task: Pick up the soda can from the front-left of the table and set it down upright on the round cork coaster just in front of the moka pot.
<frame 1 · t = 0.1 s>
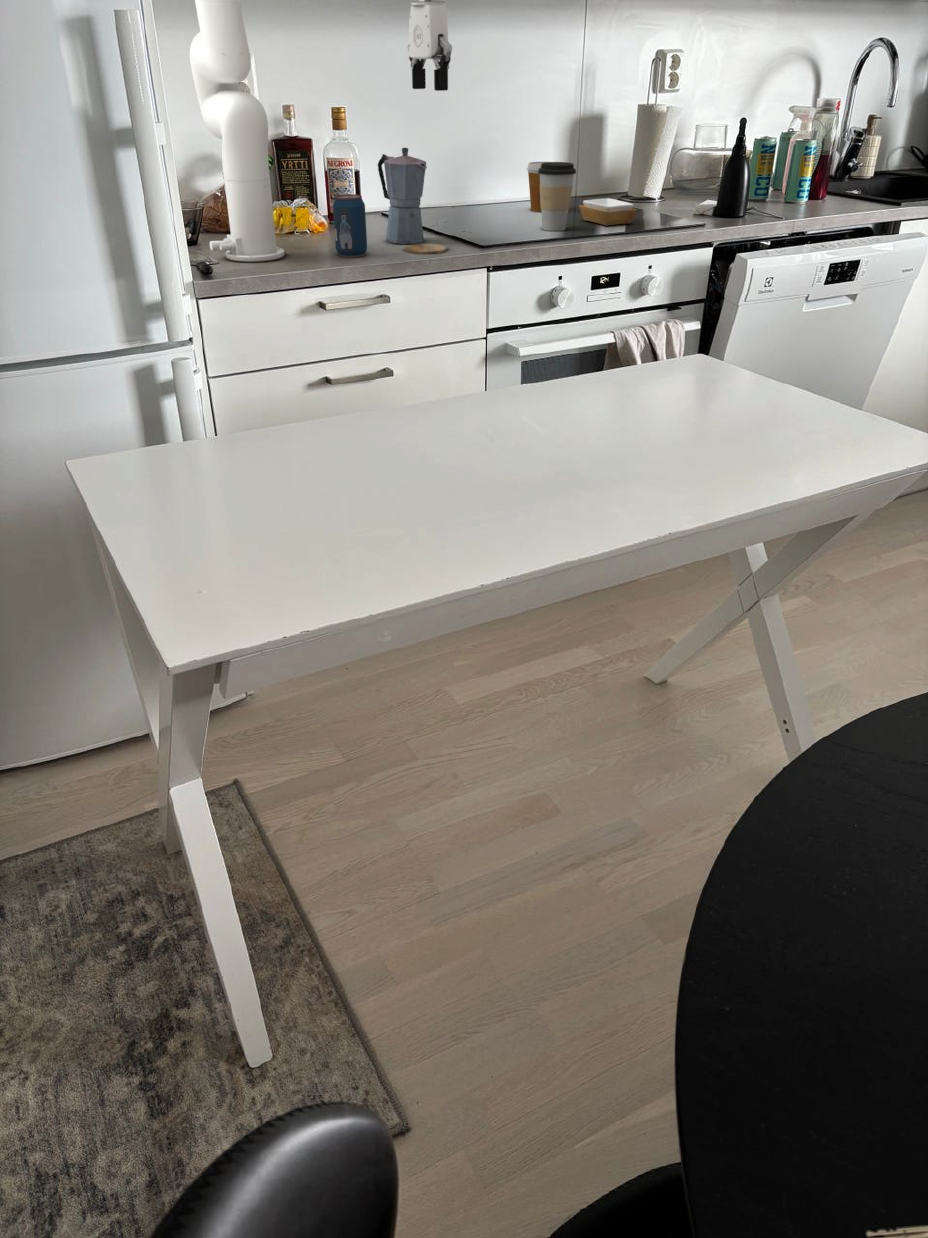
hand: (429, 89, 208), 31 cm above the table, tool pointing down, fingers open, 9 cm apart
moka pot: (403, 241, 221), on the table
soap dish: (606, 223, 244), on the table
coffee cup: (554, 229, 236), on the table
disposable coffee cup: (542, 210, 262), on the table
soda can: (351, 255, 206), on the table
coaster: (426, 249, 211), on the table
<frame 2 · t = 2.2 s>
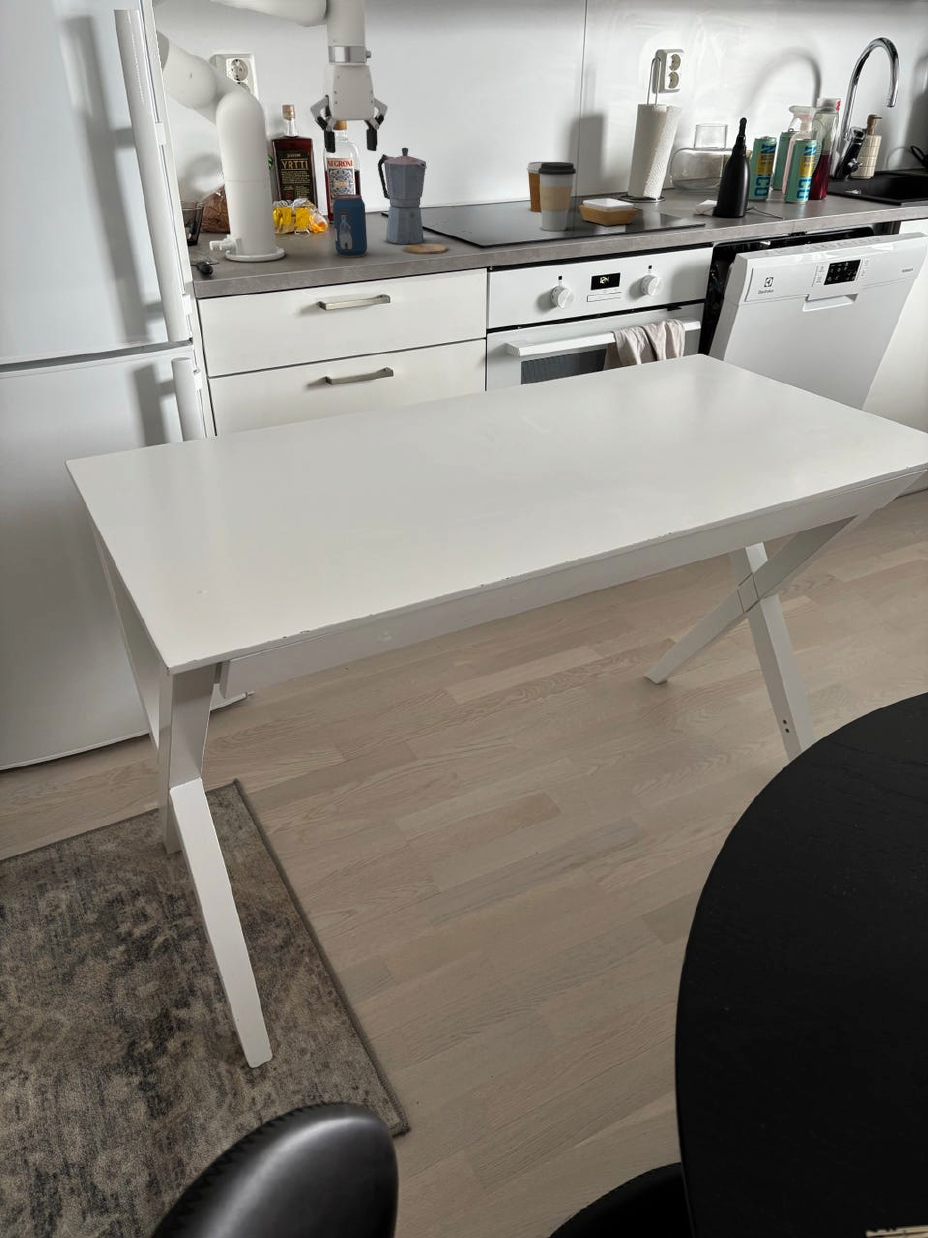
hand: (351, 151, 196), 20 cm above the table, tool pointing down, fingers open, 9 cm apart
nothing on the table moved.
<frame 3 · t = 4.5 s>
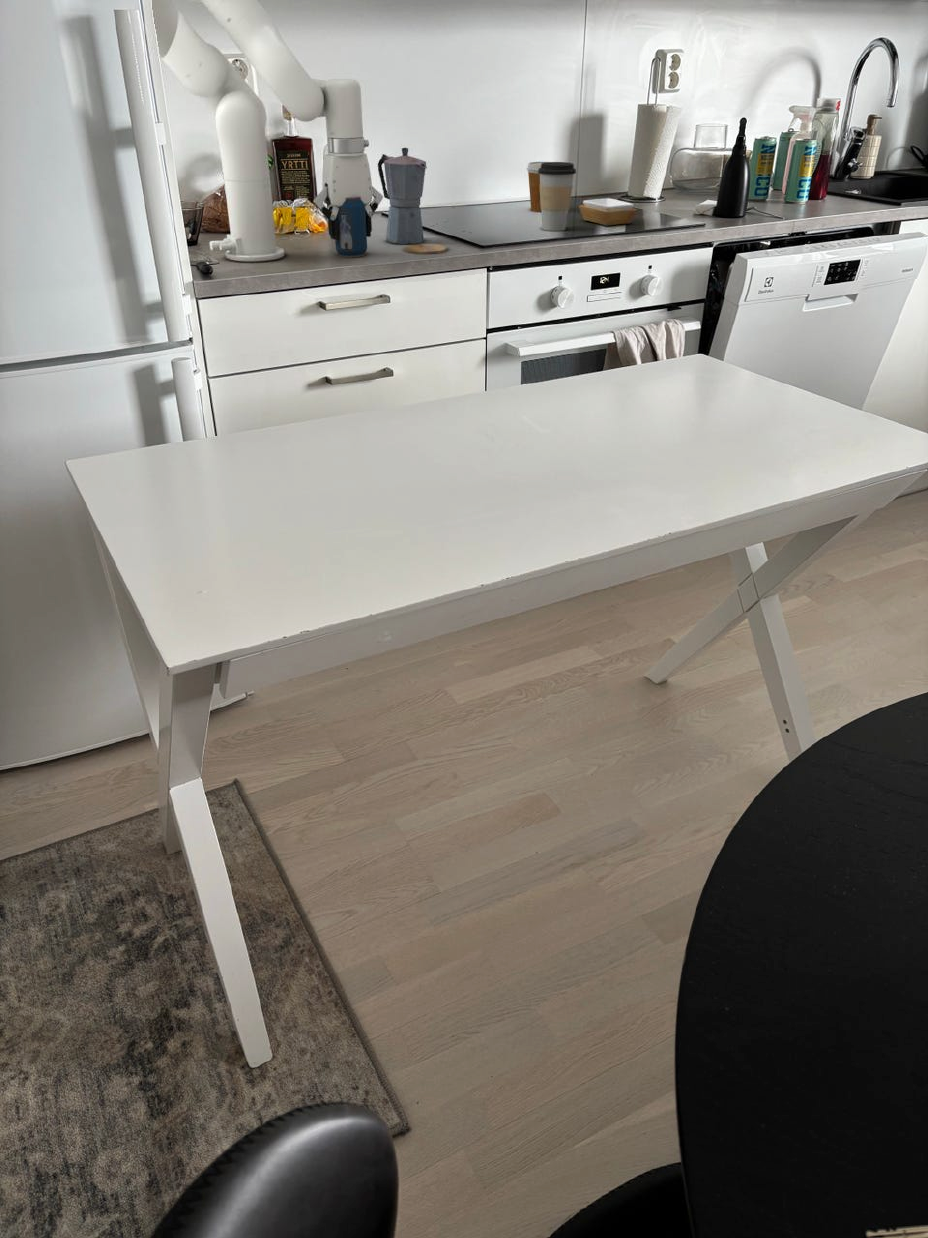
hand: (350, 236, 204), 4 cm above the table, tool pointing down, fingers closed on soda can, 7 cm apart
soda can: (351, 255, 206), on the table, touching gripper
everything else where it was.
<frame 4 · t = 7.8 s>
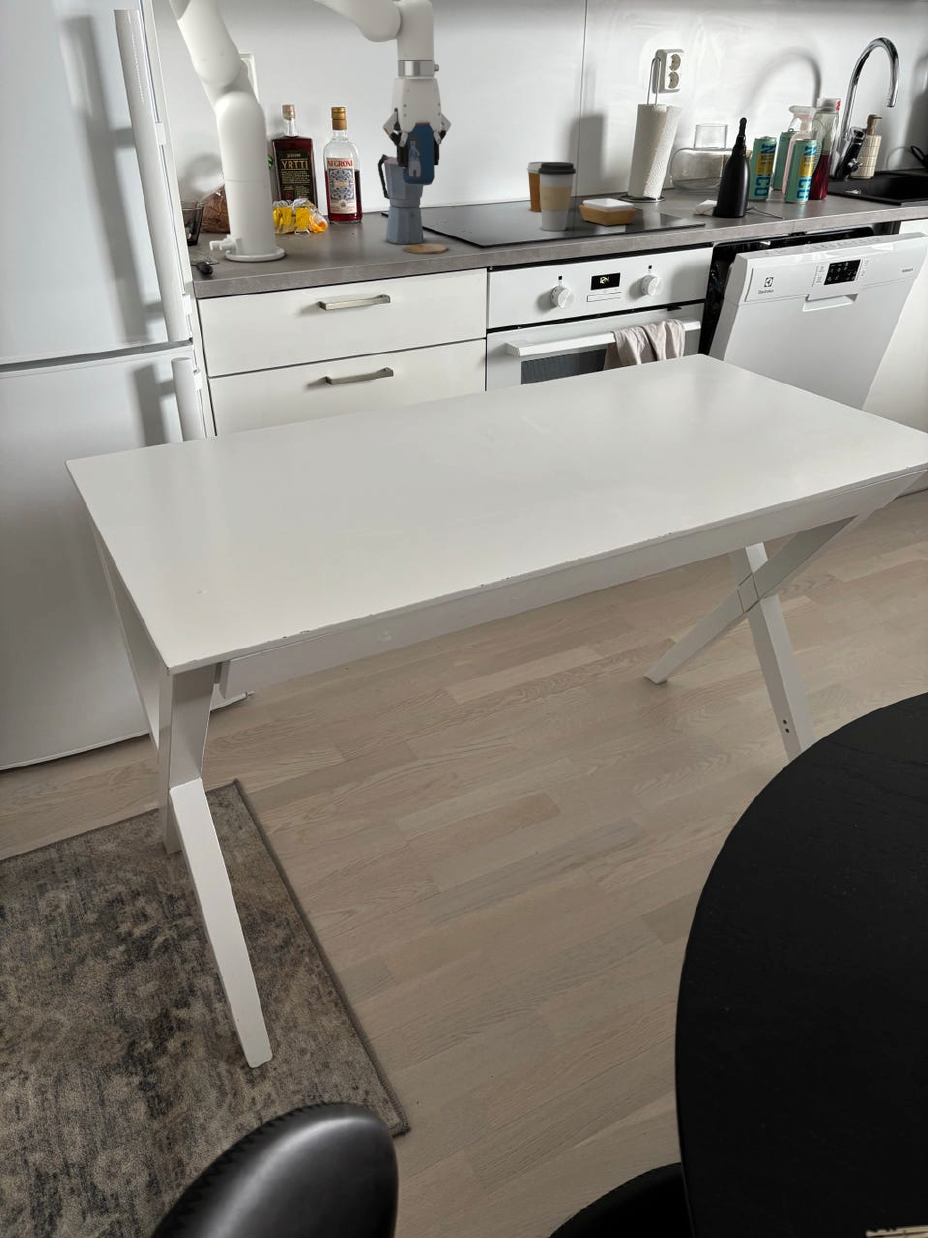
hand: (418, 164, 201), 17 cm above the table, tool pointing down, fingers closed on soda can, 7 cm apart
soda can: (418, 184, 203), point 14 cm above the table, touching gripper
everything else where it was.
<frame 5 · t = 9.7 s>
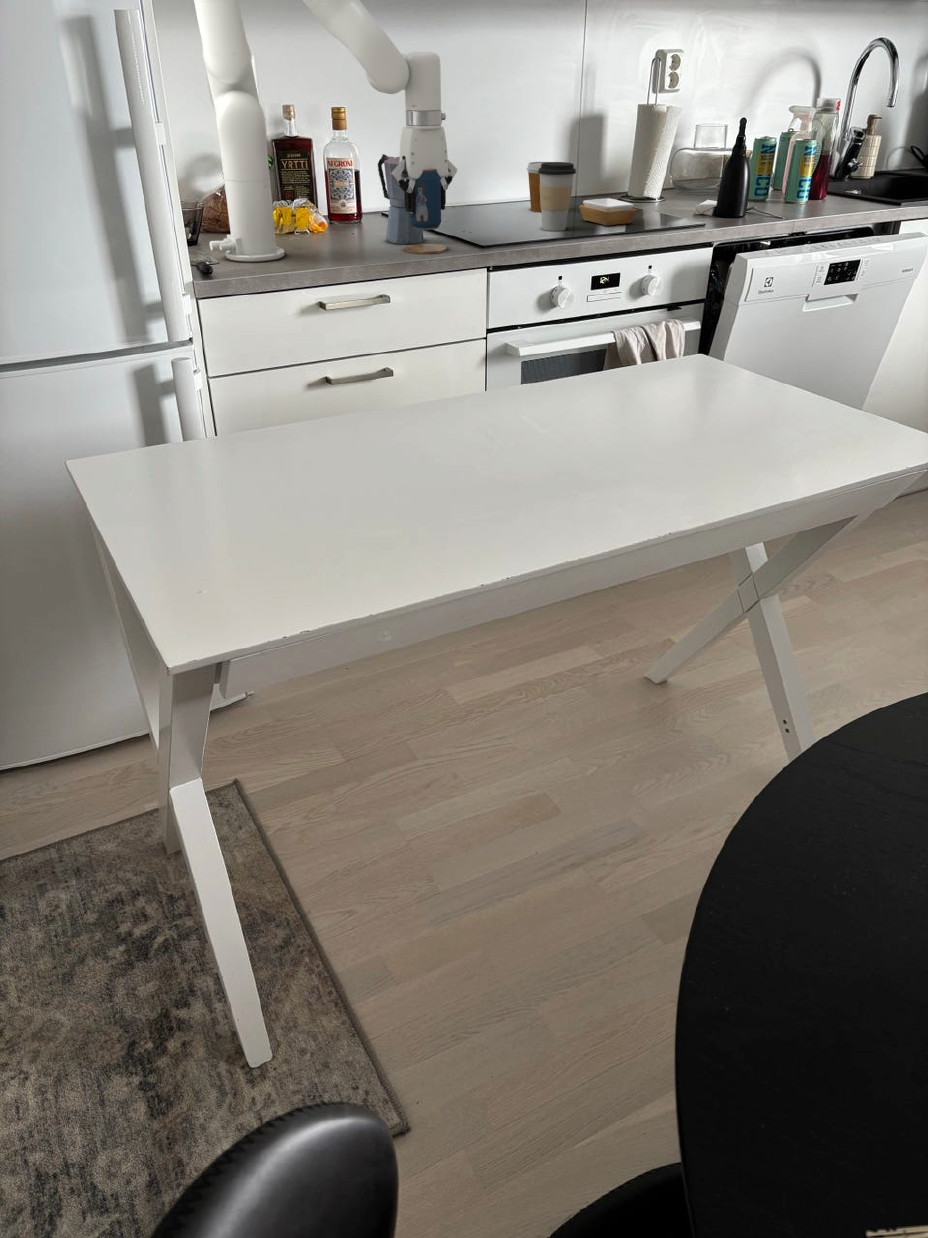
hand: (425, 209, 207), 8 cm above the table, tool pointing down, fingers closed on soda can, 7 cm apart
soda can: (425, 228, 209), point 5 cm above the table, touching gripper
everything else where it was.
when the fingers open (4 cm above the table, at t = 11.3 s): soda can stays where it is, resting on coaster.
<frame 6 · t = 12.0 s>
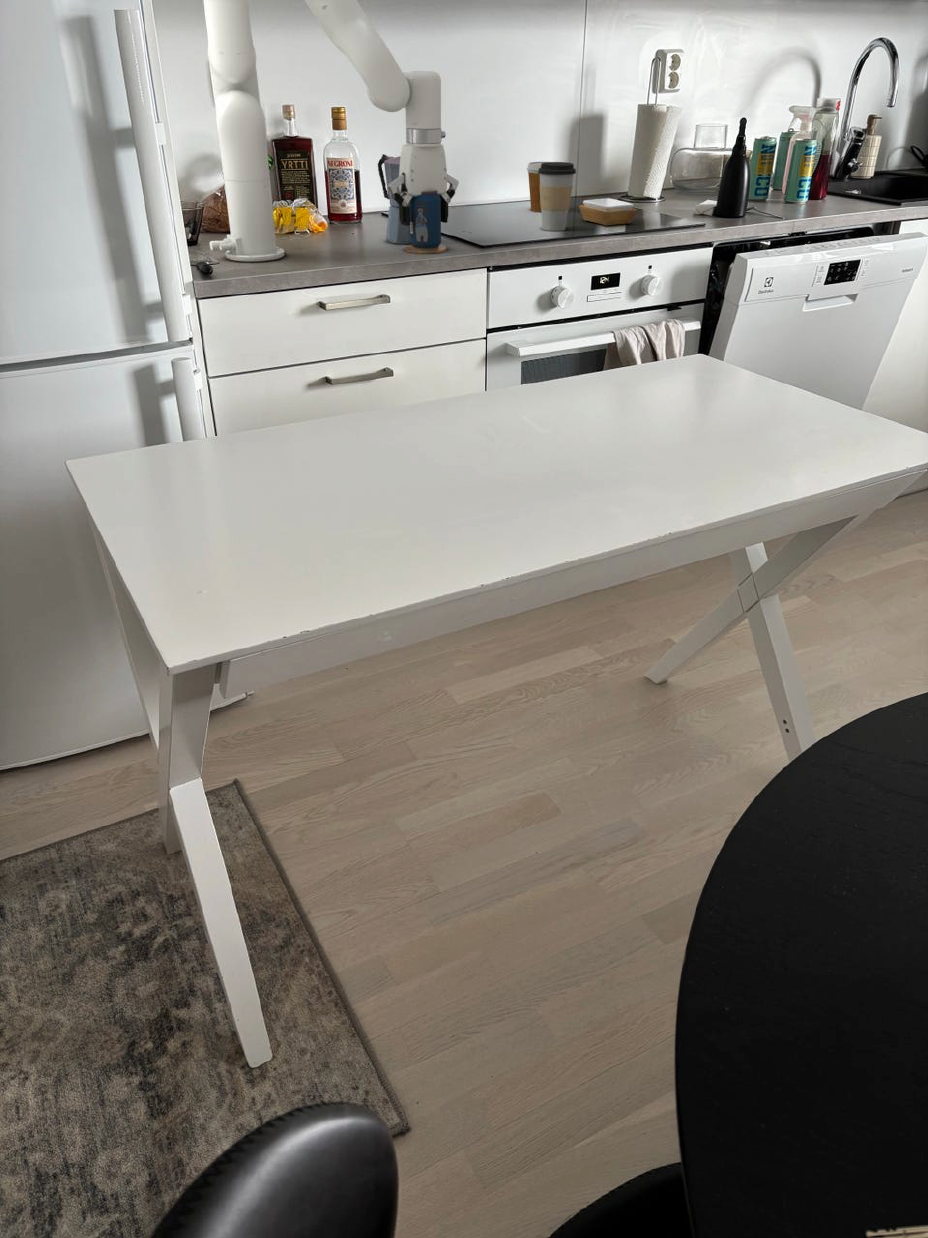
hand: (424, 223, 208), 6 cm above the table, tool pointing down, fingers open, 9 cm apart
soda can: (425, 248, 211), resting on coaster
everything else where it was.
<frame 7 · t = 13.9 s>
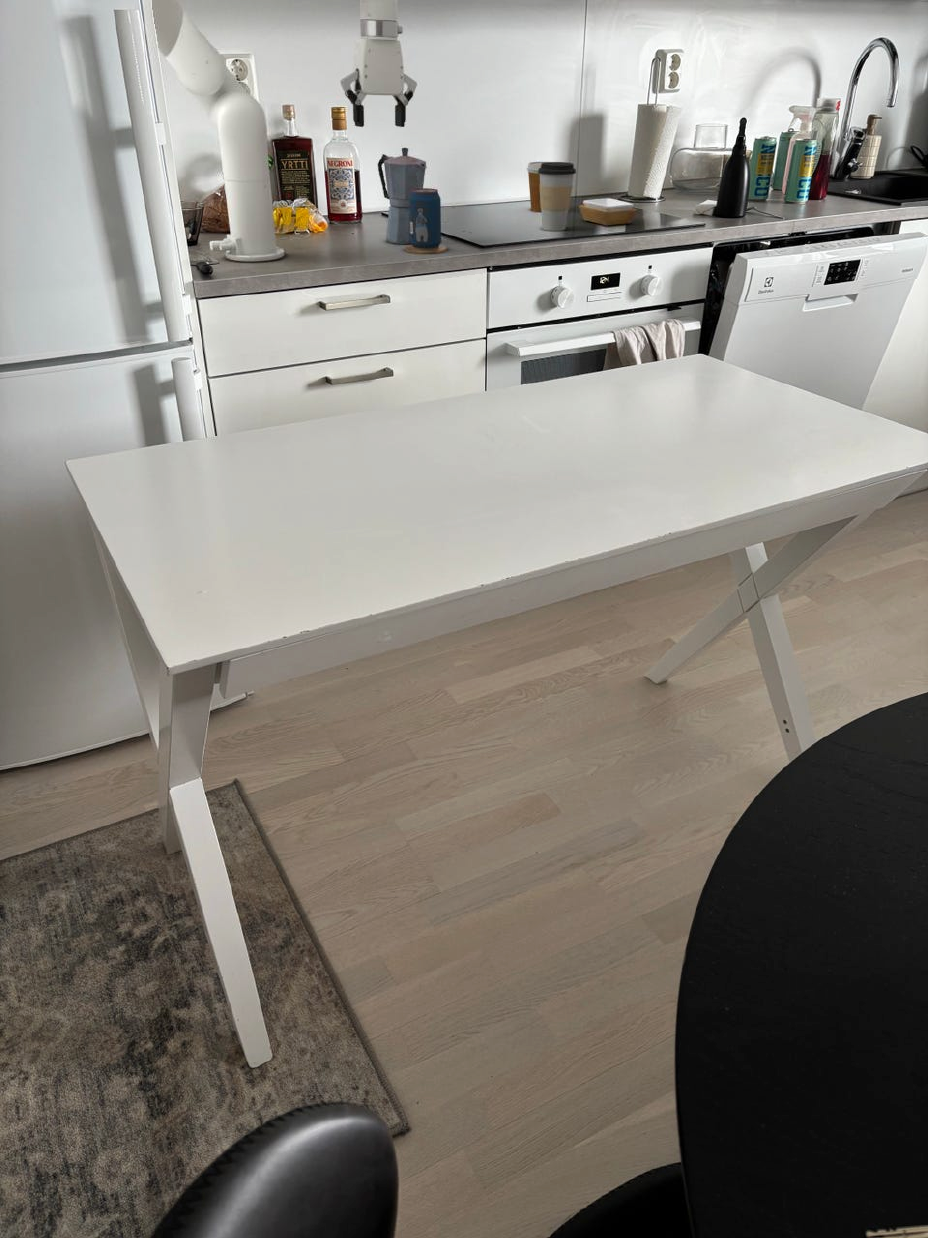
hand: (379, 126, 198), 25 cm above the table, tool pointing down, fingers open, 9 cm apart
nothing on the table moved.
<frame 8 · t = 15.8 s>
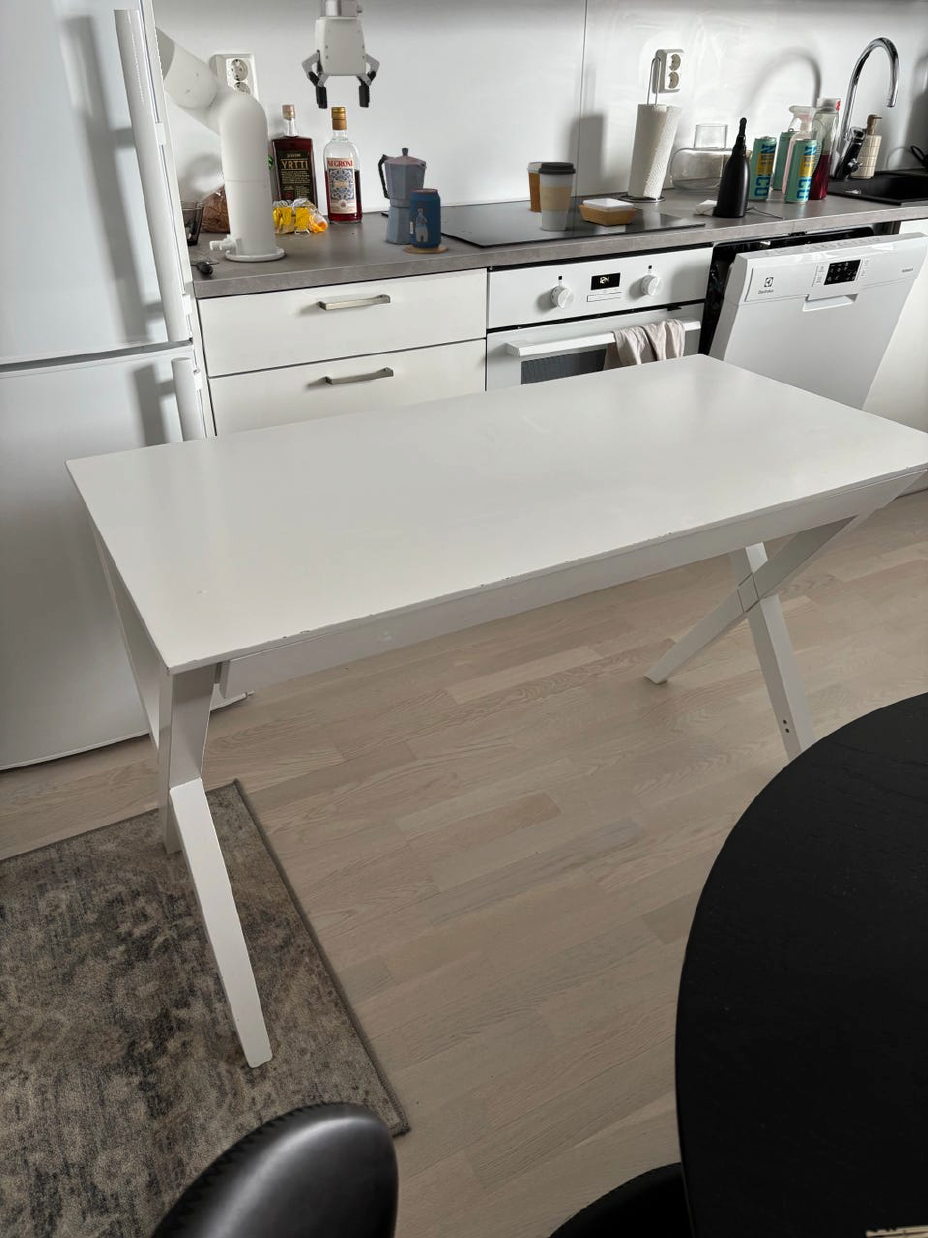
hand: (343, 107, 197), 28 cm above the table, tool pointing down, fingers open, 9 cm apart
nothing on the table moved.
at the end: soda can inside the target area on the table beside the moka pot (1.1 cm from its centre), point 0.5 cm above the table; soda can 0.0 cm from the coaster (horizontally); soda can tilted 0° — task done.
